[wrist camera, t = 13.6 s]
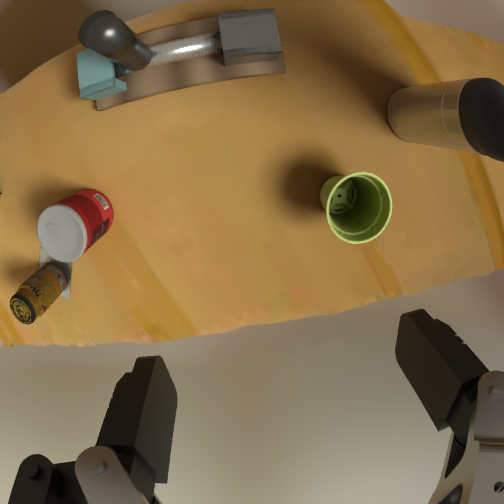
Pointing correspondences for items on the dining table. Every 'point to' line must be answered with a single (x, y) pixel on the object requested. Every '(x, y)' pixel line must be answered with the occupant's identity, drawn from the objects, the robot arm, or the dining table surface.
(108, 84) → the socket block
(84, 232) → the canned food
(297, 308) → the dining table surface
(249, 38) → the sleeve
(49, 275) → the condiment
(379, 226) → the plant pot
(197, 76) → the board
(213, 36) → the slide bolt
